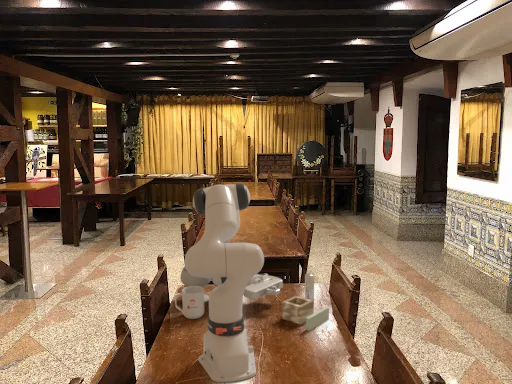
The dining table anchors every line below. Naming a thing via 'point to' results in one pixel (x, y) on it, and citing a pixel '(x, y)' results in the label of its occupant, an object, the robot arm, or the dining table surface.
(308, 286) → the dowel
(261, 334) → the dining table surface
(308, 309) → the socket block
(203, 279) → the chalice
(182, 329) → the dining table surface
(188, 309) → the mug
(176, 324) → the dining table surface
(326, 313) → the wall
